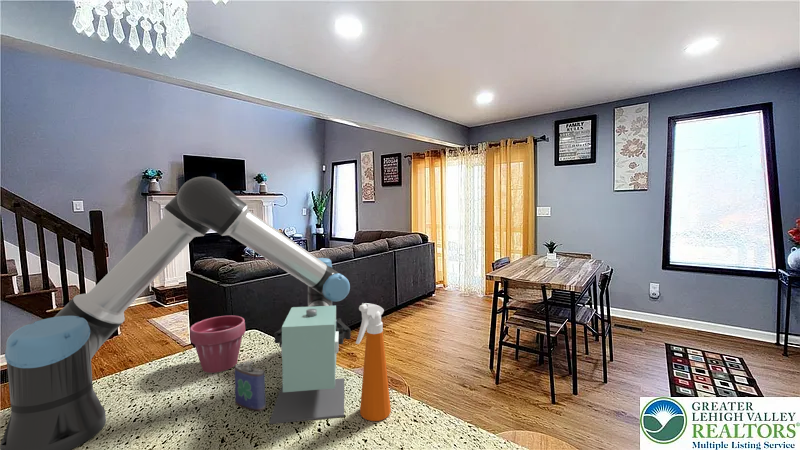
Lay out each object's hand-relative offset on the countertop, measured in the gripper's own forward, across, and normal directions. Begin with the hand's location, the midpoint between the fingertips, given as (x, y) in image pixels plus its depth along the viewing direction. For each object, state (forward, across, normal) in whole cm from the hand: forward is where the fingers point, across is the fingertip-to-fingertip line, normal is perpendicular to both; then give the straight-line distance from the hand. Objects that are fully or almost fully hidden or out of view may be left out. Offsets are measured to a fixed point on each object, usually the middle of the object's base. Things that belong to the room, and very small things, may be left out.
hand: (310, 348), depth 78 cm
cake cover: (-4, 0, -8) cm, 9 cm away
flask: (-4, +14, -15) cm, 21 cm away
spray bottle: (+5, -14, -14) cm, 20 cm away
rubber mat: (-4, 0, -14) cm, 15 cm away
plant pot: (-26, +28, -15) cm, 41 cm away
